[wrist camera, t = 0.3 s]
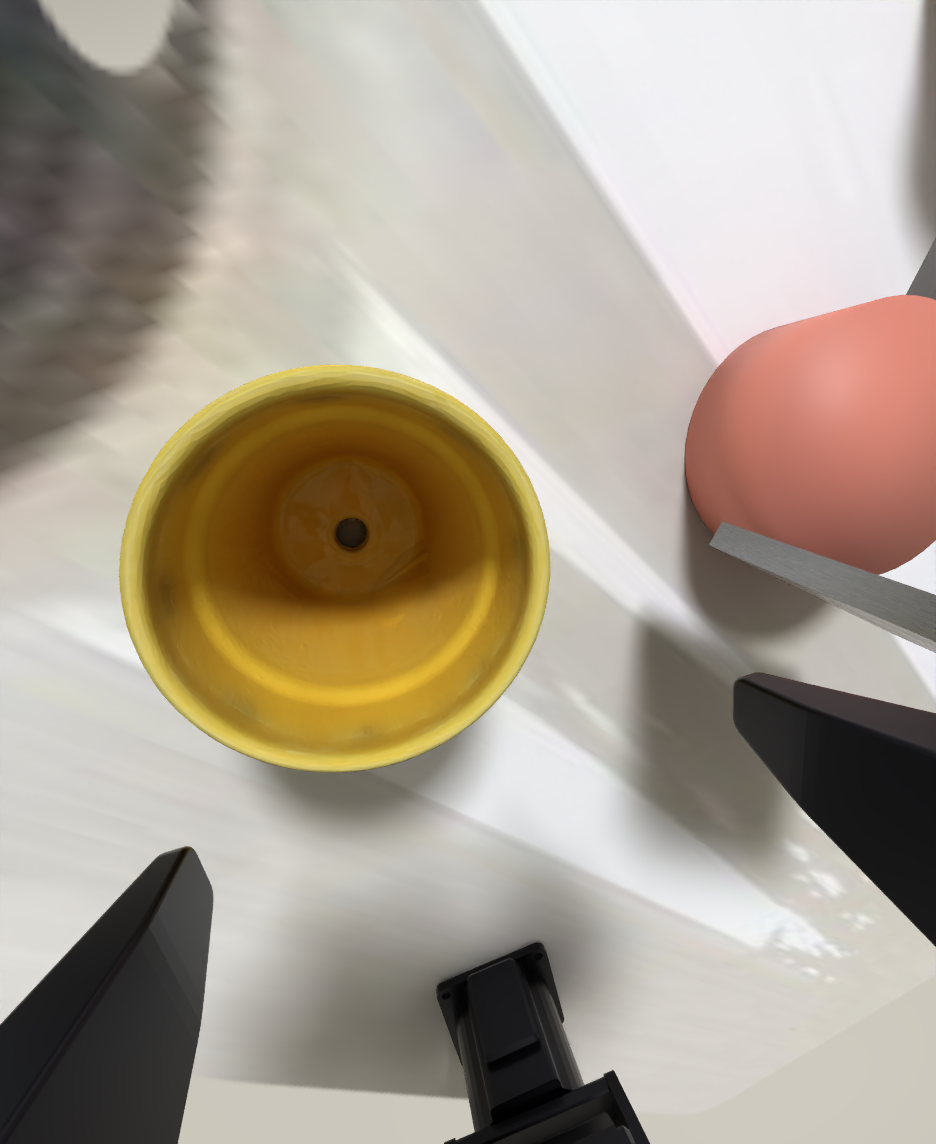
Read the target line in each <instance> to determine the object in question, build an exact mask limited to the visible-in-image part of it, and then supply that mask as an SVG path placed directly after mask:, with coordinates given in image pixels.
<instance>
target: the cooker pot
mask: <svg viewBox="0 0 936 1144" xmlns="http://www.w3.org/2000/svg"><path fill="white" fill-rule="evenodd" d="M685 468H686V478H687V484H688V489H689V492H690V495H691V499H692V502H693V504H694V506H695V508H696V511H697V513H698V515H699V516H700V518H701V519H702V521H703V522H704V524H705V525H706V526H707V527H708V529H709V530H710V531H711V532H712V533H713V534H714V535H715V533H716V532H717V530H718V528H719V526H720V525H721V523H722V522H725V523H728V524H731V525H734V526H737V527H740V528H743V529H745V530H748V531H751V532H754V533H757V534H760V535H763V536H766V537H769V538H772V539H774V540H777V541H780V542H783V543H786V544H789V545H792V546H795V547H798V548H801V549H803V550H806V551H809V552H812V553H815V554H818V555H821V556H824V557H827V558H830V559H832V560H835V561H838V562H841V563H844V564H847V565H850V566H853V567H856V568H859V569H861V570H864V571H867V572H870V573H873V574H876V575H879V574H883V573H885V572H888V571H890V570H893V569H895V568H897V567H899V566H901V565H903V564H905V563H906V562H908V561H910V560H912V559H913V558H914V557H916V556H917V555H918V554H920V553H921V552H923V551H924V550H925V549H926V548H927V547H928V546H930V545H931V544H932V543H933V542H934V541H935V540H936V239H935V241H934V242H933V244H932V246H931V248H930V250H929V252H928V254H927V256H926V258H925V260H924V261H923V263H922V265H921V267H920V269H919V271H918V273H917V275H916V277H915V279H914V281H913V282H912V284H911V286H910V288H909V290H908V292H907V294H906V295H899V296H892V297H886V298H882V299H878V300H875V301H871V302H867V303H864V304H860V305H856V306H853V307H849V308H845V309H842V310H838V311H834V312H831V313H827V314H823V315H820V316H816V317H812V318H809V319H805V320H801V321H798V322H794V323H791V324H787V325H783V326H780V327H776V328H773V329H770V330H767V331H764V332H762V333H760V334H758V335H756V336H754V337H752V338H751V339H749V340H748V341H746V342H745V343H743V344H742V345H740V346H739V347H738V348H737V349H736V350H734V351H733V352H732V353H731V354H730V355H729V356H728V357H727V358H726V359H725V360H724V361H723V362H722V363H721V364H720V366H719V367H718V368H717V369H716V371H715V372H714V373H713V375H712V376H711V378H710V379H709V381H708V382H707V384H706V386H705V388H704V389H703V391H702V393H701V395H700V397H699V399H698V402H697V404H696V406H695V409H694V411H693V415H692V418H691V422H690V425H689V429H688V435H687V440H686V452H685Z"/></svg>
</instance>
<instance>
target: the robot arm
mask: <svg viewBox="0 0 936 1144" xmlns="http://www.w3.org/2000/svg"><path fill="white" fill-rule="evenodd" d="M733 720H734V724H735V726H736V728H737V730H738V732H739V733H740V734H741V736H742V737H743V738H744V739H745V740H746V742H747V743H748V744H749V745H750V747H751V748H752V749H753V750H754V752H755V753H756V754H757V755H758V756H759V758H760V759H761V760H762V761H763V763H764V764H765V765H766V766H767V767H768V769H769V770H770V771H771V772H772V774H773V775H774V776H775V777H776V779H777V780H778V781H779V782H780V783H781V785H782V786H783V787H784V788H785V790H786V791H787V792H788V793H789V794H790V796H791V797H792V798H793V799H794V800H795V801H796V803H797V804H798V805H799V806H800V807H801V808H802V809H803V810H804V812H805V813H806V814H807V815H808V816H809V817H810V818H811V819H812V820H813V821H814V822H815V823H816V824H817V825H818V826H819V827H820V828H821V829H822V830H823V831H824V832H825V833H826V835H827V836H828V837H829V838H830V839H831V840H832V841H833V842H834V843H835V844H836V845H837V846H838V847H839V848H840V849H841V850H842V851H843V852H844V853H845V854H846V855H847V856H848V857H849V858H850V859H851V860H852V861H853V862H854V863H855V864H856V865H857V866H858V867H859V868H860V869H861V871H862V872H863V873H864V874H865V875H866V876H867V877H868V878H869V879H870V880H871V881H872V882H873V883H874V884H875V885H876V886H877V887H878V888H879V889H880V890H881V891H882V892H883V893H884V894H885V895H886V896H887V897H888V898H889V899H890V900H891V901H892V902H893V903H894V904H895V905H896V907H897V908H898V909H899V910H900V911H901V912H902V913H903V914H904V915H905V916H906V917H907V918H908V919H909V920H910V921H911V922H912V923H913V924H914V925H915V926H916V927H917V928H918V929H919V930H920V931H921V932H922V933H923V934H924V935H925V936H926V937H927V938H928V939H929V940H930V942H931V943H932V944H933V945H934V946H935V947H936V713H932V712H927V711H923V710H919V709H914V708H910V707H906V706H902V705H897V704H893V703H889V702H884V701H880V700H876V699H872V698H867V697H863V696H859V695H854V694H850V693H846V692H841V691H837V690H833V689H829V688H824V687H820V686H816V685H811V684H807V683H803V682H798V681H794V680H790V679H786V678H781V677H777V676H773V675H768V674H764V673H753V674H749V675H746V676H743V677H739V678H738V679H736V680H735V682H734V685H733ZM212 912H213V890H212V886H211V884H210V881H209V879H208V877H207V875H206V873H205V871H204V868H203V866H202V864H201V862H200V860H199V858H198V855H197V853H196V852H195V850H194V849H193V848H192V847H188V846H185V847H182V848H178V849H175V850H172V851H169V852H165V853H163V854H161V855H159V856H158V857H157V858H156V859H155V860H154V861H153V862H152V863H151V864H150V865H149V866H148V867H147V868H146V869H145V870H144V871H143V872H142V873H141V874H140V876H139V877H138V878H137V879H136V880H135V881H134V882H133V883H132V884H131V885H130V886H129V887H128V888H127V889H126V890H125V892H124V893H123V894H122V895H121V896H120V897H119V898H118V899H117V900H116V901H115V902H114V903H113V904H112V905H111V907H110V908H109V909H108V910H107V911H106V912H105V913H104V914H103V915H102V916H101V917H100V918H99V919H98V920H97V922H96V923H95V924H94V925H93V926H92V927H91V928H90V929H89V930H88V931H87V932H86V933H85V934H84V935H83V936H82V938H81V939H80V940H79V941H78V942H77V943H76V944H75V945H74V946H73V947H72V948H71V949H70V950H69V951H68V953H67V954H66V955H65V956H64V957H63V958H62V959H61V960H60V961H59V962H58V963H57V964H56V965H55V966H54V968H53V969H52V970H51V971H50V972H49V973H48V974H47V975H46V976H45V977H44V978H43V979H42V980H41V981H40V983H39V984H38V985H37V986H36V987H35V988H34V989H33V990H32V991H31V992H30V993H29V994H28V995H27V996H26V997H25V999H24V1000H23V1001H22V1002H21V1003H20V1004H19V1005H18V1006H17V1007H16V1008H15V1009H14V1010H13V1011H12V1012H11V1014H10V1015H9V1016H8V1017H7V1018H6V1019H5V1020H4V1021H3V1022H2V1023H1V1024H0V1144H178V1139H179V1134H180V1129H181V1124H182V1119H183V1114H184V1109H185V1104H186V1098H187V1093H188V1089H189V1084H190V1078H191V1073H192V1068H193V1063H194V1058H195V1053H196V1048H197V1043H198V1037H199V1031H200V1026H201V1019H202V1010H203V1002H204V992H205V982H206V972H207V962H208V952H209V942H210V932H211V922H212ZM436 993H437V999H438V1002H439V1005H440V1007H441V1010H442V1013H443V1016H444V1018H445V1021H446V1024H447V1027H448V1029H449V1032H450V1035H451V1037H452V1040H453V1043H454V1046H455V1048H456V1051H457V1054H458V1056H459V1059H460V1062H461V1065H462V1066H463V1070H464V1075H465V1081H466V1086H467V1092H468V1097H469V1103H470V1108H471V1114H472V1119H473V1124H474V1130H475V1132H474V1133H472V1134H470V1135H468V1136H465V1137H463V1138H460V1139H458V1140H455V1138H454V1139H452V1140H449V1141H447V1142H445V1143H444V1144H650V1143H649V1141H648V1139H647V1136H646V1134H645V1132H644V1131H643V1129H642V1126H641V1124H640V1122H639V1121H638V1118H637V1116H636V1114H635V1112H634V1110H633V1108H632V1106H631V1104H630V1102H629V1100H628V1098H627V1096H626V1094H625V1092H624V1090H623V1088H622V1086H621V1084H620V1082H619V1080H618V1078H617V1076H616V1074H615V1072H614V1070H612V1071H610V1072H607V1073H605V1074H604V1077H602V1078H600V1079H597V1080H595V1081H593V1082H590V1083H588V1084H586V1085H584V1083H583V1080H582V1077H581V1075H580V1072H579V1069H578V1067H577V1064H576V1061H575V1058H574V1056H573V1053H572V1050H571V1047H570V1045H569V1042H568V1039H567V1036H566V1034H565V1031H564V1028H563V1025H562V1023H563V1022H564V1016H563V1012H562V1009H561V1005H560V1001H559V997H558V994H557V990H556V986H555V982H554V979H553V975H552V971H551V967H550V964H549V960H548V956H547V953H546V950H545V947H544V945H543V944H541V943H535V944H532V945H530V946H527V947H525V948H523V949H520V950H518V951H516V952H513V953H511V954H509V955H506V956H504V957H502V958H499V959H497V960H494V961H492V962H490V963H487V964H485V965H483V966H480V967H478V968H476V969H473V970H471V971H469V972H466V973H464V974H461V975H459V976H457V977H454V978H452V979H450V980H447V981H445V982H443V983H441V984H439V986H438V987H437V989H436Z"/></svg>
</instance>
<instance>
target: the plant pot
mask: <svg viewBox="0 0 936 1144" xmlns="http://www.w3.org/2000/svg"><path fill="white" fill-rule="evenodd" d="M348 518H356V519H359V520H361V521H362V522H363V523H364V524H365V526H366V529H367V535H366V538H365V540H364V541H363V543H362V544H361V545H359V546H357V547H354V548H350V547H346V546H344V545H342V544H341V543H340V542H339V540H338V538H337V536H336V530H337V527H338V525H339V523H340V522H342V521H343V520H345V519H348ZM119 579H120V592H121V599H122V607H123V611H124V616H125V620H126V625H127V628H128V631H129V634H130V637H131V639H132V642H133V644H134V646H135V649H136V651H137V653H138V655H139V658H140V660H141V662H142V664H143V666H144V668H145V669H146V671H147V672H148V674H149V676H150V677H151V679H152V680H153V682H154V684H155V685H156V687H157V688H158V689H159V691H160V692H161V693H162V694H163V696H164V697H165V698H166V699H167V700H168V701H169V702H170V703H171V705H172V706H173V707H174V708H175V709H176V710H177V711H178V712H179V713H181V714H182V715H183V716H184V717H185V718H186V719H187V720H189V721H190V722H191V723H192V724H193V725H195V726H196V727H197V728H198V729H200V730H201V731H203V732H204V733H205V734H207V735H208V736H210V737H211V738H213V739H214V740H216V741H218V742H220V743H222V744H223V745H225V746H227V747H229V748H231V749H233V750H235V751H237V752H240V753H242V754H244V755H247V756H249V757H252V758H254V759H257V760H259V761H262V762H266V763H269V764H273V765H276V766H281V767H286V768H291V769H297V770H303V771H311V772H352V771H362V770H369V769H375V768H379V767H384V766H389V765H392V764H396V763H399V762H402V761H405V760H408V759H411V758H413V757H415V756H418V755H420V754H423V753H425V752H427V751H429V750H431V749H433V748H436V747H437V746H439V745H441V744H443V743H445V742H446V741H448V740H450V739H451V738H453V737H454V736H456V735H458V734H459V733H460V732H462V731H463V730H464V729H466V728H467V727H468V726H470V725H471V724H473V723H474V722H475V721H476V720H477V719H479V718H480V717H481V716H482V715H483V714H484V713H485V712H486V711H487V710H488V709H489V708H490V707H491V706H492V705H493V704H494V703H495V702H496V701H497V700H498V699H499V698H500V697H501V695H502V694H503V693H504V692H505V691H506V689H507V688H508V687H509V686H510V684H511V683H512V682H513V680H514V679H515V677H516V676H517V674H518V673H519V671H520V670H521V668H522V666H523V664H524V662H525V661H526V659H527V657H528V655H529V653H530V651H531V649H532V647H533V645H534V642H535V640H536V638H537V635H538V632H539V629H540V626H541V623H542V620H543V616H544V612H545V608H546V603H547V598H548V591H549V581H550V552H549V541H548V536H547V530H546V525H545V520H544V517H543V513H542V509H541V506H540V503H539V501H538V498H537V495H536V493H535V491H534V488H533V486H532V484H531V481H530V479H529V477H528V476H527V474H526V472H525V470H524V469H523V467H522V465H521V463H520V462H519V460H518V459H517V457H516V456H515V454H514V453H513V452H512V450H511V449H510V448H509V446H508V445H507V444H506V443H505V441H504V440H503V439H502V438H501V437H500V436H499V434H498V433H497V432H496V431H495V430H494V429H493V428H492V427H491V426H490V425H489V424H488V423H487V422H485V421H484V420H483V419H482V418H481V417H480V416H479V415H478V414H476V413H475V412H474V411H473V410H471V409H470V408H469V407H467V406H466V405H464V404H463V403H461V402H460V401H458V400H457V399H455V398H454V397H452V396H451V395H449V394H447V393H445V392H443V391H441V390H439V389H437V388H435V387H433V386H431V385H429V384H426V383H424V382H422V381H419V380H417V379H414V378H411V377H409V376H406V375H402V374H399V373H395V372H391V371H387V370H382V369H378V368H372V367H364V366H352V365H320V366H309V367H302V368H296V369H290V370H286V371H283V372H279V373H275V374H271V375H267V376H265V377H262V378H259V379H257V380H254V381H251V382H249V383H246V384H244V385H242V386H240V387H238V388H236V389H234V390H232V391H230V392H228V393H226V394H225V395H223V396H221V397H220V398H218V399H217V400H215V401H213V402H212V403H210V404H209V405H207V406H206V407H204V408H203V409H202V410H201V411H199V412H198V413H197V414H195V415H194V416H193V417H192V418H191V419H190V420H189V421H188V422H186V423H185V424H184V425H183V426H182V427H181V428H180V429H179V430H178V431H177V432H176V433H175V434H174V435H173V436H172V437H171V439H170V440H169V441H168V442H167V443H166V445H165V446H164V447H163V448H162V449H161V451H160V452H159V454H158V455H157V457H156V458H155V460H154V461H153V463H152V464H151V466H150V468H149V470H148V472H147V473H146V475H145V477H144V479H143V480H142V482H141V484H140V486H139V488H138V490H137V492H136V495H135V497H134V499H133V502H132V505H131V508H130V511H129V514H128V517H127V521H126V525H125V529H124V533H123V538H122V545H121V553H120V570H119Z"/></svg>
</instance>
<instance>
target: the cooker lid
mask: <svg viewBox="0 0 936 1144" xmlns="http://www.w3.org/2000/svg"><path fill="white" fill-rule="evenodd" d="M709 545H710V546H712V547H714V548H716V549H718V550H720V551H722V552H724V553H726V554H728V555H731V556H733V557H735V558H737V559H739V560H741V561H743V562H745V563H747V564H749V565H751V566H753V567H755V568H758V569H760V570H762V571H764V572H766V573H768V574H770V575H772V576H774V577H776V578H778V579H780V580H782V581H785V582H787V583H789V584H791V585H793V586H795V587H797V588H799V589H801V590H803V591H805V592H807V593H809V594H811V595H814V596H816V597H818V598H820V599H822V600H824V601H826V602H828V603H830V604H832V605H834V606H836V607H838V608H841V609H843V610H845V611H847V612H849V613H851V614H853V615H855V616H857V617H859V618H861V619H863V620H865V621H868V622H870V623H872V624H874V625H876V626H878V627H880V628H882V629H884V630H886V631H888V632H890V633H892V634H895V635H897V636H899V637H901V638H904V639H906V640H908V641H910V642H913V643H915V644H917V645H919V646H922V647H924V648H926V649H928V650H931V651H933V652H935V653H936V595H934V594H931V593H928V592H925V591H922V590H919V589H917V588H914V587H911V586H908V585H905V584H902V583H899V582H896V581H893V580H890V579H888V578H885V577H882V576H879V575H876V574H873V573H870V572H867V571H864V570H861V569H859V568H856V567H853V566H850V565H847V564H844V563H841V562H838V561H835V560H832V559H830V558H827V557H824V556H821V555H818V554H815V553H812V552H809V551H806V550H803V549H801V548H798V547H795V546H792V545H789V544H786V543H783V542H780V541H777V540H774V539H772V538H769V537H766V536H763V535H760V534H757V533H754V532H751V531H748V530H745V529H743V528H740V527H737V526H734V525H731V524H728V523H725V522H722V523H721V525H720V526H719V528H718V530H717V532H716V533H715V535H714V537H713V538H712V540H711V542H710V544H709Z"/></svg>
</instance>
